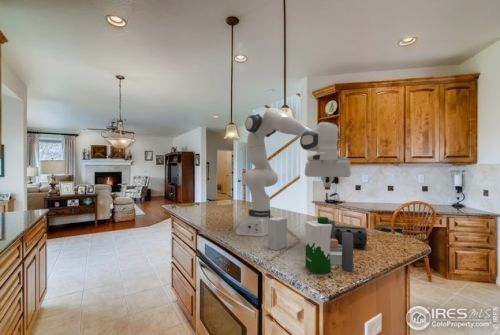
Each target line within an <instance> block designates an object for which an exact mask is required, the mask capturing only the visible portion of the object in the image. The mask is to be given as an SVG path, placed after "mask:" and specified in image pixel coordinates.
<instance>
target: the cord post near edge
mask: <svg viewBox="0 0 500 335" xmlns="http://www.w3.org/2000/svg"><path fill="white" fill-rule="evenodd" d="M341 269H342V271H344V272H348V273H350V272H353V271H354V247H353V233H349V232H343V233H342V265H341Z"/></svg>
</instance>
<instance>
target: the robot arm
mask: <svg viewBox="0 0 500 335" xmlns="http://www.w3.org/2000/svg"><path fill="white" fill-rule="evenodd" d="M244 124H245V125H244V126H245V129H246V131H247V132H249V133H248V134H247V141H246V142H247V152H248V160H249V162H250V163H251V164H252V165H253V167H254V169H253V168H251V169H248V170H246V172H244V174H243V183H244V185H245V186H247V188H248V190H249V191H250V195H251V208H249V209H248V211H247V212H248V215H247V216H246V217H244V218H243V219H242V220H240V222H239V226H238V228H236V229H235V235H237V236H246V237H247V236H251V237H260V238H261V237H264V236H268V219H269V218H272V217H271V214H272V212H271V209H270V208H271V201H270V200H271V198H270V196H269V194H268V193H267V192H266V189H265V188H266V187H273V186H274V185H276V184H277V183H278V181H279V175H278V173H277V172H276V171H275V170H274V168H272V166H271V164H270V162H269V159H268V155H267V151H266V150H267V149H266V144H265V138H269V137H271V135H273V134H275V133H276V132H279V133H282V134H285V135H293V136H298V137H300V139H299V144H300V147H301V148H302V149H303V150H304V151H308V152H309V151H310V152H317V153H314V154H312V155H309V156H307V162H306V163H305V167H304V176H305V177H311V178H313V177H314V178H315V177H317V178H318V177H319V178H320V180H321V181H322V183H323V188H331V187H332V182H333V181H334V179H335V178H350V176H351V159H350V158H349V157H347V156H344V157H343V156H339V155H338V153H339V152H338V151H339V150H338V141H339V140H338V139H339V135H338V126H337V125H336V124H335V123H334V122H329V121H321V122H319V123H318V124H317V125H316V126H315V127H314V128H310V127H309V126H307V125H305V124H302V122H300V121H298V120H297V119H296V118H295V117H293V116H292V115H290V114H289V113H287V112H286V111H284V110H282V109H280V108H276V107H269V108H267V109H266V110H265V111H264V114H260V113H258V114H257V113H256V114H251V115H249V116H248V117H247V118H246V120H245V122H244ZM326 178H328V179H329V181H328V182H326V181H325V180H326Z"/></svg>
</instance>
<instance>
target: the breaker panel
mask: <svg viewBox="0 0 500 335" xmlns="http://www.w3.org/2000/svg"><path fill="white" fill-rule="evenodd" d="M330 265H332V266H334V265H335V266H336V265H337V266H342V245H339V244H338V249H335V248H330Z"/></svg>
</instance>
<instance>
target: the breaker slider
mask: <svg viewBox="0 0 500 335" xmlns="http://www.w3.org/2000/svg"><path fill="white" fill-rule="evenodd" d="M338 245H339V244H338V240H336V239H330V248H335V249H338Z"/></svg>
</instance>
